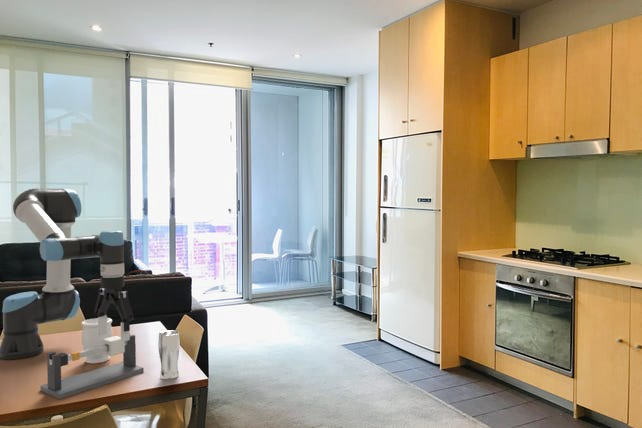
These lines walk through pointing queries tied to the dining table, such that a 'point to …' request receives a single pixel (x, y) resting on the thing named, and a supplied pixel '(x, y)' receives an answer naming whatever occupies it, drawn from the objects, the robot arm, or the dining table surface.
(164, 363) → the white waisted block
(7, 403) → the dining table surface
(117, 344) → the sleeve
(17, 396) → the dining table surface
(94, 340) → the jar
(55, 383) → the rod support stand
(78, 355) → the guide rod
